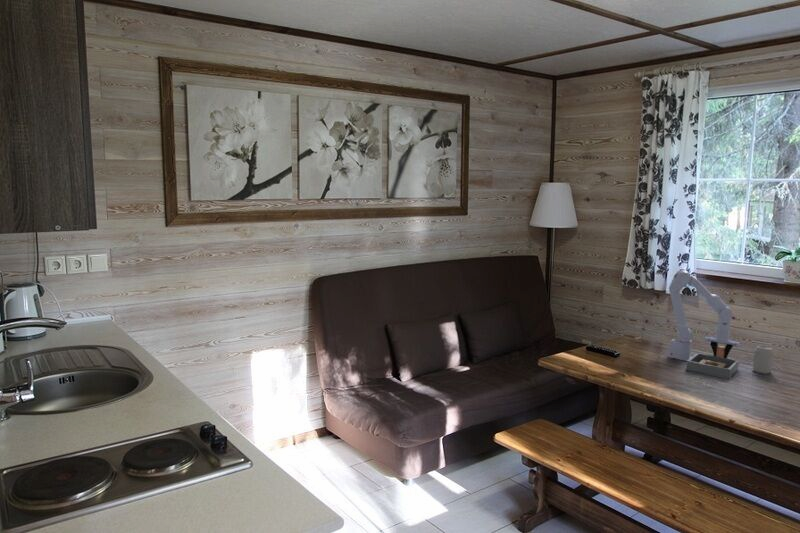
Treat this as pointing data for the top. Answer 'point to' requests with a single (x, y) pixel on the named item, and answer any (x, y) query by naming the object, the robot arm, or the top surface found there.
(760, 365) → the can
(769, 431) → the top surface
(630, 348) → the top surface
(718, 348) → the peg
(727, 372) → the box
